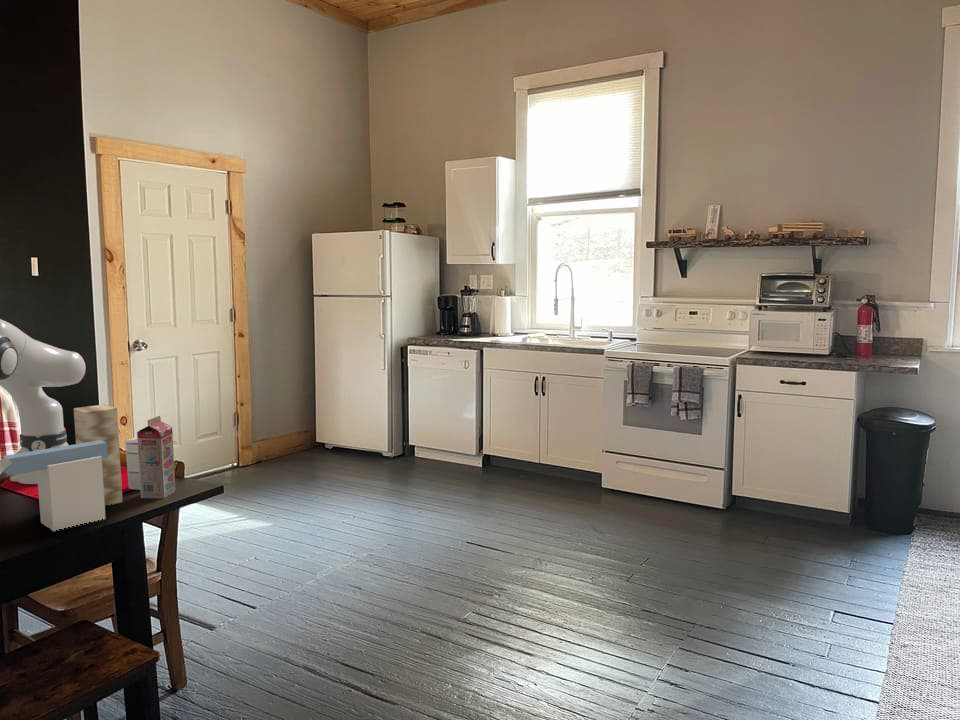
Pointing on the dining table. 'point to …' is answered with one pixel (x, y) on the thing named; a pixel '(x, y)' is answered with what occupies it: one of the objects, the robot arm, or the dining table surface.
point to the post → (104, 426)
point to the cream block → (71, 493)
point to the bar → (54, 456)
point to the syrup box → (133, 463)
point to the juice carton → (156, 459)
